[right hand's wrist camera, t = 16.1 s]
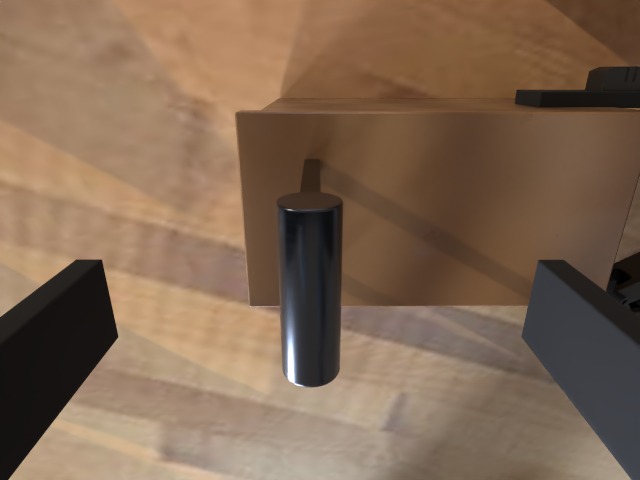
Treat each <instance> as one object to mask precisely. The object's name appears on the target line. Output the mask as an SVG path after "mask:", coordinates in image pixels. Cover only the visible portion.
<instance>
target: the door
mask: <svg viewBox="0 0 640 480" xmlns="http://www.w3.org/2000/svg"><path fill="white" fill-rule="evenodd" d="M235 121H236V135H237V148H238V162H239V176H240V189H241V203H242V216H243V230H244V244H245V257H246V271H247V285H248V298H249V306H250V307H280V319H281V343H282V367H283V373H284V375H285V376H286V378H287V379H288V380H289V381H290V382H292V383H294V384H296V385H299V386H303V387H319V386H323V385H325V384H328V383H329V382H331V381H332V380H334V379H335V378H336V376H337V375H338V373H339V370H340V333H341V306H528V305H529V300H530V296H531V291H532V286H533V282H534V277H535V272H536V268H537V263H538V260H565V261H566V262H567V263H569V264H570V265H571V266H573V267H574V268H575V269H577V270H578V271H579V272H581V273H582V274H583V275H585V276H586V277H587V278H588V279H590V280H591V281H592V282H594V283H595V284H596V285H598V286H599V287H600V288H602V289H603V290H604V291H606V289H607V285H608V282H609V278H610V275H611V271H612V268H613V264H614V261H615V258H616V254H617V251H618V247H619V244H620V240H621V237H622V234H623V230H624V227H625V223H626V220H627V216H628V213H629V209H630V206H631V203H632V199H633V196H634V192H635V189H636V185H637V182H638V178H639V175H640V110H252V111H238V112H236V113H235Z"/></svg>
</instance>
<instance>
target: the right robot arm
mask: <svg viewBox="0 0 640 480" xmlns="http://www.w3.org/2000/svg"><path fill="white" fill-rule="evenodd" d="M117 338H118V333H117V328H116V324H115V319H114V314H113V310H112V305H111V300H110V296H109V291H108V286H107V282H106V277H105V272H104V268H103V263H102V260H75V261H74V262H73V263H71V264H70V265H69V266H67V267H66V268H65V269H63V270H62V271H61V272H59V273H58V274H57V275H55V276H54V277H53V278H52V279H50V280H49V281H48V282H46V283H45V284H44V285H42V286H41V287H40V288H38V289H37V290H36V291H34V292H33V293H32V294H30V295H29V296H28V297H26V298H25V299H24V300H22V301H21V302H20V303H18V304H17V305H16V306H14V307H13V308H12V309H10V310H9V311H8V312H7V313H5V314H4V315H3V316H1V317H0V480H8V479H9V478H10V477H11V475H12V474H13V473H14V472H15V470H16V469H17V468H18V466H19V465H20V464H21V462H22V461H23V460H24V459H25V457H26V456H27V455H28V453H29V452H30V451H31V450H32V448H33V447H34V446H35V444H36V443H37V442H38V440H39V439H40V438H41V437H42V435H43V434H44V433H45V431H46V430H47V429H48V427H49V426H50V425H51V424H52V422H53V421H54V420H55V418H56V417H57V416H58V415H59V413H60V412H61V411H62V409H63V408H64V407H65V405H66V404H67V403H68V402H69V400H70V399H71V398H72V396H73V395H74V394H75V392H76V391H77V390H78V389H79V387H80V386H81V385H82V383H83V382H84V381H85V380H86V378H87V377H88V376H89V374H90V373H91V372H92V370H93V369H94V368H95V367H96V365H97V364H98V363H99V361H100V360H101V359H102V357H103V356H104V355H105V354H106V352H107V351H108V350H109V348H110V347H111V346H112V345H113V343H114V342H115V341H116V339H117ZM522 338H523V339H524V341H525V342H526V343H527V345H528V346H529V347H530V348H531V350H532V351H533V352H534V354H535V355H536V356H537V357H538V359H539V360H540V361H541V363H542V364H543V365H544V367H545V368H546V369H547V370H548V372H549V373H550V374H551V376H552V377H553V378H554V380H555V381H556V382H557V383H558V385H559V386H560V387H561V389H562V390H563V391H564V392H565V394H566V395H567V396H568V398H569V399H570V400H571V402H572V403H573V404H574V405H575V407H576V408H577V409H578V411H579V412H580V413H581V415H582V416H583V417H584V418H585V420H586V421H587V422H588V424H589V425H590V426H591V427H592V429H593V430H594V431H595V433H596V434H597V435H598V437H599V438H600V439H601V440H602V442H603V443H604V444H605V446H606V447H607V448H608V450H609V451H610V452H611V453H612V455H613V456H614V457H615V459H616V460H617V461H618V462H619V464H620V465H621V466H622V468H623V469H624V470H625V472H626V473H627V474H628V475H629V477H630V478H631V479H632V480H640V317H639V316H637V315H636V314H635V313H633V312H632V311H631V310H630V309H628V308H627V307H626V306H624V305H623V304H622V303H620V302H619V301H618V300H616V299H615V298H614V297H612V296H611V295H610V294H608V293H607V292H606V291H604V290H603V289H602V288H600V287H599V286H598V285H596V284H595V283H594V282H592V281H591V280H590V279H588V278H587V277H586V276H585V275H583V274H582V273H581V272H579V271H578V270H577V269H575V268H574V267H573V266H571V265H570V264H569V263H567V262H566V261H565V260H538V263H537V268H536V272H535V277H534V282H533V286H532V291H531V296H530V300H529V305H528V310H527V314H526V319H525V324H524V328H523V333H522Z"/></svg>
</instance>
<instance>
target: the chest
mask: <svg viewBox="0 0 640 480" xmlns="http://www.w3.org/2000/svg"><path fill="white" fill-rule="evenodd" d="M262 110H634V109H625V108H616V107H533V106H526V105H519V104H515V99H277V100H276V101H274V102H273V103H271V104H270V105H268V106H267V107H265V108H263V109H262Z"/></svg>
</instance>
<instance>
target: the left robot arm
mask: <svg viewBox="0 0 640 480" xmlns="http://www.w3.org/2000/svg"><path fill="white" fill-rule="evenodd" d="M515 104H519V105H526V106H533V107H616V108H640V67H599V68H596V69H594V70H591V71H589V75H588V79H587V84H586V88H585V90H517V92H516V98H515ZM606 292H607V293H608V294H610V295H611V296H612V297H614V298H615V299H616V300H618V301H619V302H620V303H622V304H623V305H624V306H626V307H627V308H628V309H630V310H631V311H632V312H633V313H635V314H636V315H637V316H639V317H640V252H639V253H637V254H634V255H632V256H630V257H628V258H625V259H623V260H621V261H619V262H616V263H614V264H613V268H612V271H611V275H610V278H609V282H608V285H607V289H606Z"/></svg>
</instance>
